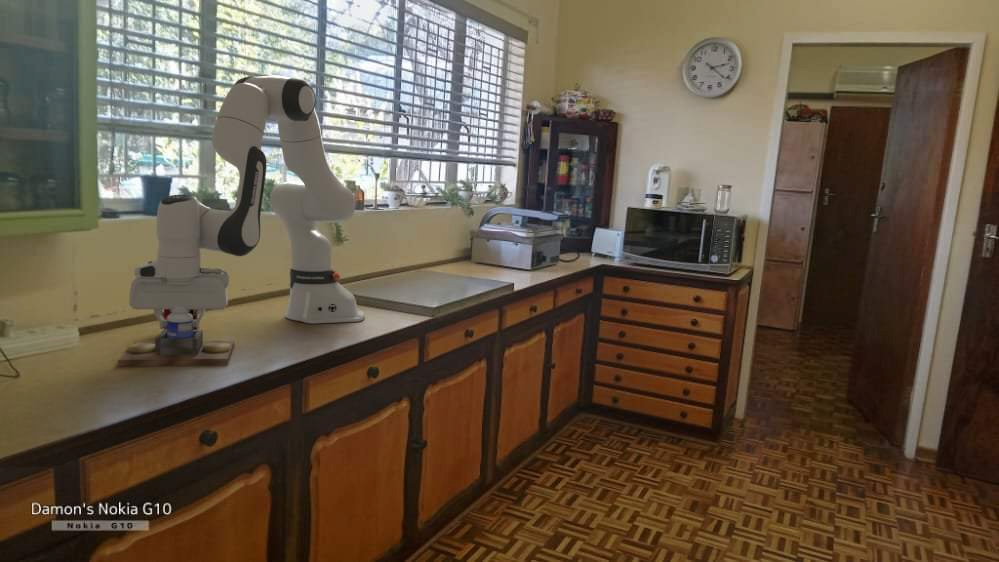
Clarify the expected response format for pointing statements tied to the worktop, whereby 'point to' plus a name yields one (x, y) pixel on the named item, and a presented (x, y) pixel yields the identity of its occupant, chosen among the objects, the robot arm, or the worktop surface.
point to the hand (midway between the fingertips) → (180, 328)
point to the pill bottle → (179, 323)
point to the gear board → (177, 352)
